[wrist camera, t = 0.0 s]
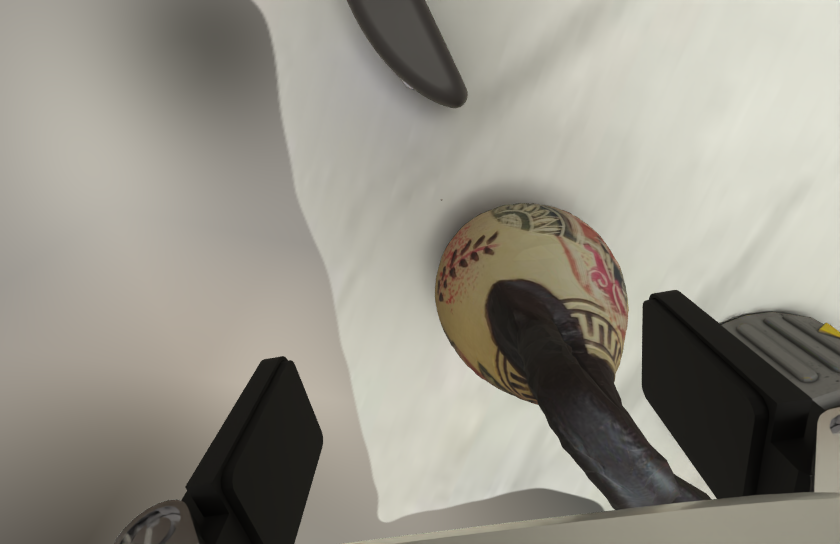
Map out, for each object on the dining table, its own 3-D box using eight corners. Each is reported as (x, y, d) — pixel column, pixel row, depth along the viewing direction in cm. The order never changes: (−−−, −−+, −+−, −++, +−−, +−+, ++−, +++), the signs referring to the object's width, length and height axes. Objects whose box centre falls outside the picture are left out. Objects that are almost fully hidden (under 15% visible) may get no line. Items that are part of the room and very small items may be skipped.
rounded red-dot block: (317, -68, 32) (277, -124, 24) (366, -106, 31) (344, -178, 23) (419, 123, 38) (416, 134, 29) (463, 96, 37) (474, 100, 28)
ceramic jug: (608, 271, 44) (912, 578, 16) (486, 345, 48) (567, 690, 20) (523, 137, 38) (766, 262, 11) (394, 233, 42) (335, 499, 15)
